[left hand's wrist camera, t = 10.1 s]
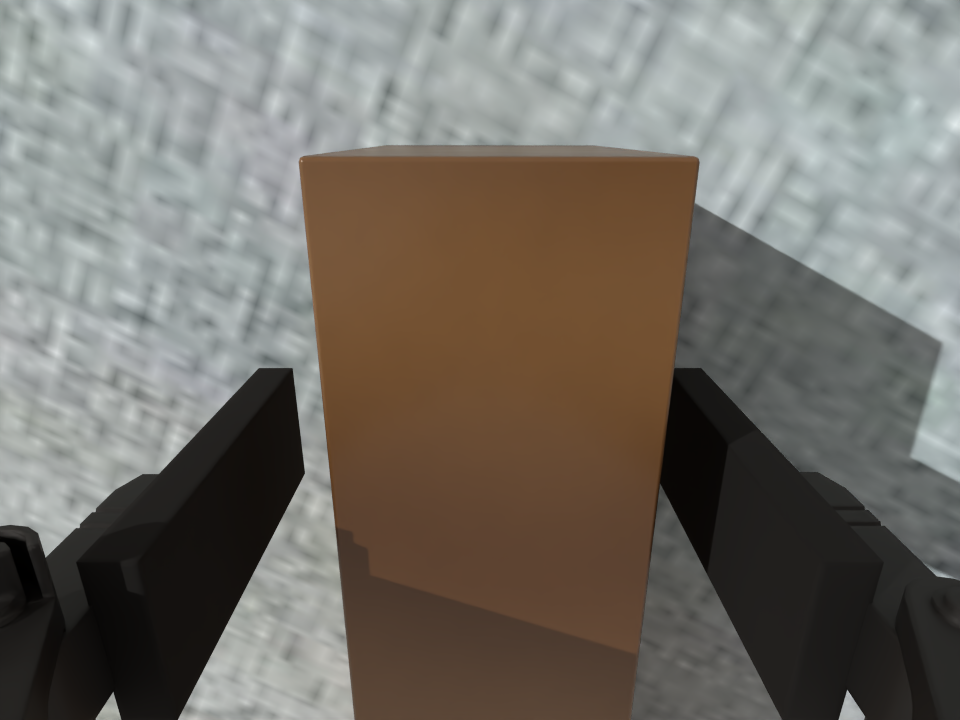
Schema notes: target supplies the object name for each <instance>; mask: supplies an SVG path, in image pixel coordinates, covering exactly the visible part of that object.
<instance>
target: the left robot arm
mask: <svg viewBox="0 0 960 720" xmlns="http://www.w3.org/2000/svg"><path fill="white" fill-rule="evenodd" d="M304 474H305V470H304V461H303V453H302V444H301V436H300V428H299V419H298V411H297V402H296V394H295V385H294V377H293V368H259V369H258V370H257V371H256V372H255V373H254V374H253V375H252V376H251V377H250V378H249V379H248V380H247V381H246V382H245V384H244V385H243V386H242V387H241V388H240V389H239V390H238V391H237V392H236V393H235V394H234V395H233V396H232V397H231V398H230V399H229V400H228V402H227V403H226V404H225V405H224V406H223V407H222V408H221V409H220V410H219V411H218V412H217V413H216V414H215V415H214V416H213V417H212V418H211V420H210V421H209V422H208V423H207V424H206V425H205V426H204V427H203V428H202V429H201V430H200V431H199V432H198V433H197V434H196V435H195V437H194V438H193V439H192V440H191V441H190V442H189V443H188V444H187V445H186V446H185V447H184V448H183V449H182V450H181V451H180V452H179V453H178V455H177V456H176V457H175V458H174V459H173V460H172V461H171V462H170V463H169V464H168V465H167V466H166V467H165V468H164V469H163V470H162V471H161V473H160V474H142V475H141V476H139V477H137V478H135V479H134V480H132V481H130V482H128V483H127V484H125V485H123V486H121V487H120V488H118V489H116V490H115V491H114V492H113V493H112V494H111V495H110V496H109V497H108V498H107V499H105V500H104V501H103V502H102V503H101V504H100V505H99V506H98V507H97V508H96V512H92V513H91V514H90V515H89V516H88V517H87V518H86V519H85V520H84V521H83V522H82V523H81V524H80V528H76V529H75V530H74V531H73V532H72V533H71V534H70V535H69V536H68V537H67V538H66V539H65V540H63V541H62V542H61V543H60V544H59V545H58V546H57V547H56V548H55V549H54V550H53V551H52V552H51V553H50V554H49V555H48V556H47V557H46V558H45V554H44V551H43V548H42V545H41V542H40V538H39V535H38V533H37V532H35V531H34V530H32V529H31V528H29V527H25V526H15V525H6V526H0V720H96V717H97V716H98V714H99V713H100V711H101V710H102V708H103V706H104V705H105V703H106V702H107V700H108V699H109V697H110V696H111V694H112V693H113V692H114V695H115V699H116V702H117V706H118V709H119V713H120V716H121V720H178V718H179V716H180V714H181V712H182V710H183V709H184V707H185V705H186V703H187V701H188V699H189V697H190V695H191V693H192V691H193V689H194V687H195V685H196V683H197V681H198V679H199V678H200V676H201V674H202V672H203V670H204V668H205V666H206V664H207V662H208V660H209V658H210V656H211V654H212V652H213V650H214V648H215V647H216V645H217V643H218V641H219V639H220V637H221V635H222V633H223V631H224V629H225V627H226V625H227V623H228V621H229V619H230V617H231V616H232V614H233V612H234V610H235V608H236V606H237V604H238V602H239V600H240V598H241V596H242V594H243V592H244V590H245V588H246V586H247V585H248V583H249V581H250V579H251V577H252V575H253V573H254V571H255V569H256V567H257V565H258V563H259V561H260V559H261V557H262V555H263V553H264V552H265V550H266V548H267V546H268V544H269V542H270V540H271V538H272V536H273V534H274V532H275V530H276V528H277V526H278V524H279V522H280V521H281V519H282V517H283V515H284V513H285V511H286V509H287V507H288V505H289V503H290V501H291V499H292V497H293V495H294V493H295V491H296V490H297V488H298V486H299V484H300V482H301V480H302V478H303V476H304ZM660 484H661V486H662V488H663V490H664V492H665V493H666V495H667V497H668V499H669V501H670V503H671V505H672V507H673V509H674V511H675V513H676V515H677V517H678V519H679V521H680V523H681V524H682V526H683V528H684V530H685V532H686V534H687V536H688V538H689V540H690V542H691V544H692V546H693V548H694V550H695V552H696V554H697V555H698V557H699V559H700V561H701V563H702V565H703V567H704V569H705V571H706V573H707V575H708V577H709V579H710V581H711V583H712V585H713V586H714V588H715V590H716V592H717V594H718V596H719V598H720V600H721V602H722V604H723V606H724V608H725V610H726V612H727V614H728V616H729V617H730V619H731V621H732V623H733V625H734V627H735V629H736V631H737V633H738V635H739V637H740V639H741V641H742V643H743V645H744V647H745V648H746V650H747V652H748V654H749V656H750V658H751V660H752V662H753V664H754V666H755V668H756V670H757V672H758V674H759V676H760V678H761V679H762V681H763V683H764V685H765V687H766V689H767V691H768V693H769V695H770V697H771V699H772V701H773V703H774V705H775V707H776V709H777V710H778V712H779V714H780V716H781V718H782V720H838V719H839V716H840V713H841V709H842V706H843V702H844V699H845V695H846V692H847V690H848V691H849V693H850V694H851V696H852V697H853V699H854V700H855V702H856V703H857V705H858V706H859V708H860V709H861V711H862V712H863V714H864V715H865V719H864V720H960V581H959V580H956V579H951V578H944V577H937V576H936V575H935V574H934V573H933V572H932V571H930V570H929V569H928V568H927V567H926V566H925V565H924V564H923V563H922V562H921V561H920V560H919V559H918V558H917V557H916V556H915V555H914V554H913V553H912V552H911V551H910V550H909V549H908V548H907V547H906V546H905V545H904V544H903V543H902V542H901V541H900V540H898V539H897V538H896V537H895V536H894V535H893V534H892V533H891V532H890V531H889V530H888V529H887V528H886V527H885V526H881V524H880V521H879V520H878V519H877V518H876V517H875V516H874V515H873V514H872V513H871V512H870V511H869V510H865V509H864V506H863V505H862V504H861V503H860V502H859V501H858V500H857V499H856V498H855V497H854V496H853V495H852V494H851V493H850V492H849V491H848V490H847V489H846V488H844V487H843V486H841V485H839V484H837V483H836V482H834V481H832V480H830V479H829V478H827V477H825V476H823V475H822V474H820V473H818V472H799V471H798V470H797V469H796V468H795V467H794V466H793V465H792V464H791V463H790V462H789V461H788V460H787V459H786V458H785V457H784V456H783V455H782V453H781V452H780V451H779V450H778V449H777V448H776V447H775V446H774V445H773V444H772V443H771V442H770V441H769V440H768V439H767V438H766V437H765V435H764V434H763V433H762V432H761V431H760V430H759V429H758V428H757V427H756V426H755V425H754V424H753V423H752V422H751V421H750V420H749V419H748V417H747V416H746V415H745V414H744V413H743V412H742V411H741V410H740V409H739V408H738V407H737V406H736V405H735V404H734V403H733V402H732V400H731V399H730V398H729V397H728V396H727V395H726V394H725V393H724V392H723V391H722V390H721V389H720V388H719V387H718V386H717V385H716V384H715V382H714V381H713V380H712V379H711V378H710V377H709V376H708V375H707V374H706V373H705V372H704V371H703V370H702V369H701V368H674V374H673V382H672V390H671V398H670V406H669V414H668V422H667V430H666V438H665V446H664V454H663V463H662V471H661V479H660Z"/></svg>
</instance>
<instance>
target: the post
mask: <svg viewBox="0 0 960 720" xmlns="http://www.w3.org/2000/svg"><path fill="white" fill-rule="evenodd" d="M699 163H700V162H699V159H698V158H697V157H695V156H685V155H676V154H667V153H658V152H648V151H639V150H630V149H620V148H611V147H602V146H546V145H386V146H378V147H370V148H362V149H355V150H347V151H339V152H331V153H324V154H316V155H308V156H303V157H301V158H300V160H299V169H300V179H301V189H302V199H303V209H304V219H305V229H306V239H307V249H308V259H309V269H310V279H311V289H312V299H313V309H314V319H315V329H316V339H317V349H318V359H319V369H320V379H321V389H322V399H323V409H324V419H325V429H326V439H327V449H328V459H329V469H330V479H331V489H332V499H333V509H334V519H335V529H336V539H337V549H338V559H339V569H340V579H341V589H342V599H343V609H344V619H345V629H346V639H347V649H348V659H349V669H350V678H351V688H352V698H353V708H354V718H355V720H631V713H632V705H633V697H634V689H635V681H636V673H637V665H638V657H639V649H640V641H641V632H642V624H643V616H644V608H645V600H646V592H647V584H648V576H649V568H650V560H651V552H652V543H653V535H654V527H655V519H656V511H657V503H658V495H659V487H660V479H661V471H662V463H663V454H664V446H665V438H666V430H667V422H668V414H669V406H670V398H671V390H672V382H673V374H674V365H675V357H676V349H677V341H678V333H679V325H680V317H681V309H682V301H683V293H684V285H685V276H686V268H687V260H688V252H689V244H690V236H691V228H692V220H693V212H694V204H695V196H696V187H697V179H698V171H699Z"/></svg>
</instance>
